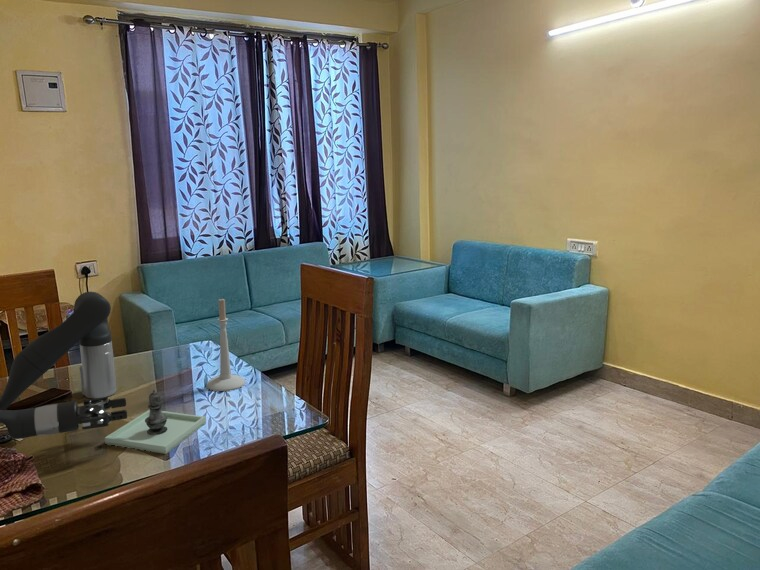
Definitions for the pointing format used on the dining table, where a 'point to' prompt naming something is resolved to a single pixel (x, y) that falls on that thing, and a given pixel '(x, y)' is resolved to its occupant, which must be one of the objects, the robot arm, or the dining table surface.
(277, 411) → the dining table surface
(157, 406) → the dark grey chess piece
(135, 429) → the tray
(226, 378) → the candlestick
